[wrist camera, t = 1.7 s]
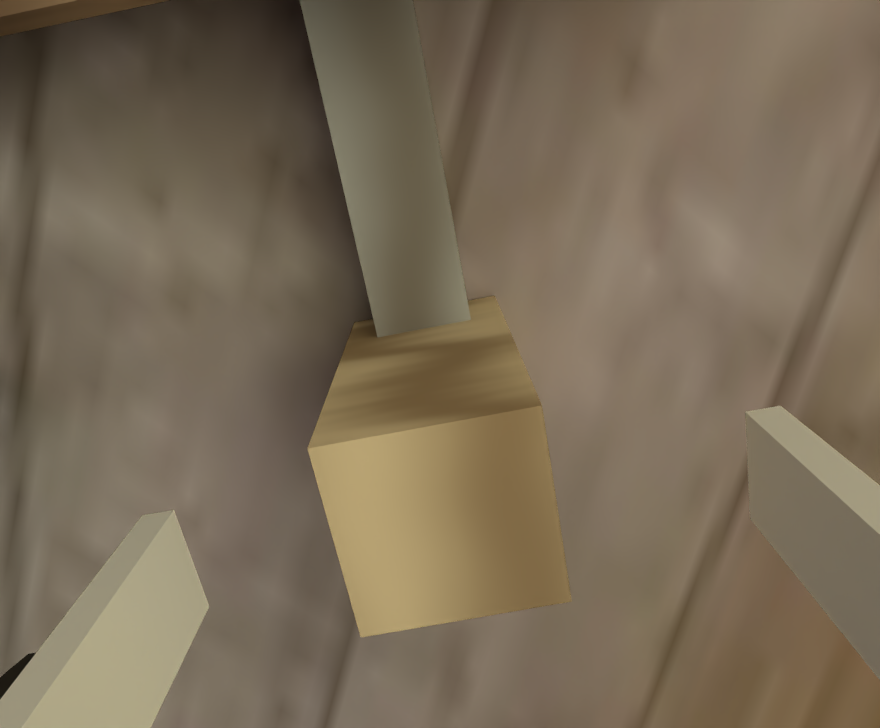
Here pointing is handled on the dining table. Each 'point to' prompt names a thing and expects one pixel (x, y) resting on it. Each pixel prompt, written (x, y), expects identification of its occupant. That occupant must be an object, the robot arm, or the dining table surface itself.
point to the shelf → (57, 12)
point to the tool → (421, 366)
